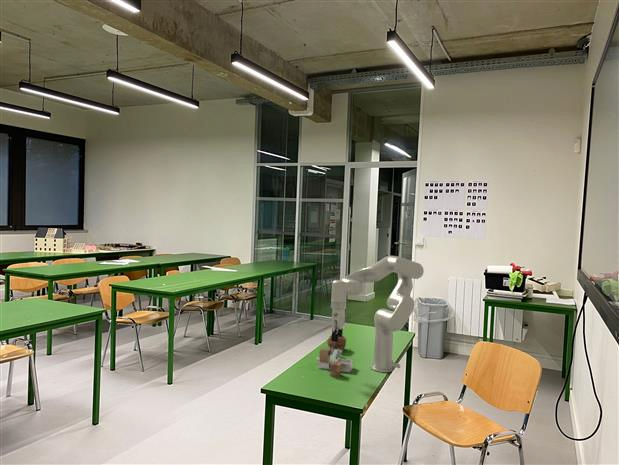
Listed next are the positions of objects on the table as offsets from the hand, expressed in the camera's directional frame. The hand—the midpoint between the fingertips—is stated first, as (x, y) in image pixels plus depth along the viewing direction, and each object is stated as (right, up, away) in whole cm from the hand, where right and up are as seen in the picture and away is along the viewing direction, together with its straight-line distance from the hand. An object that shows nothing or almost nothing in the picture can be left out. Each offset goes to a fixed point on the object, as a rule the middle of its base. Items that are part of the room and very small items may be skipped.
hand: (336, 338), depth 219 cm
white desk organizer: (0, -18, +11) cm, 21 cm away
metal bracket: (-2, -18, +27) cm, 33 cm away
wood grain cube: (-1, -18, 0) cm, 18 cm away
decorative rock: (+2, -17, +43) cm, 46 cm away
